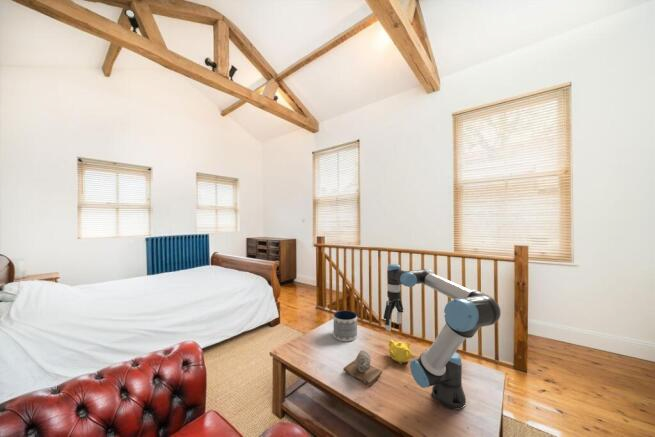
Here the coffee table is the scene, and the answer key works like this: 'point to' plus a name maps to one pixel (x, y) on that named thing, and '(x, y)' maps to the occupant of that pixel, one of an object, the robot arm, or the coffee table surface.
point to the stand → (363, 373)
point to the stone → (363, 361)
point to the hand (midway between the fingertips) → (393, 326)
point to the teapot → (399, 351)
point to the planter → (345, 326)
